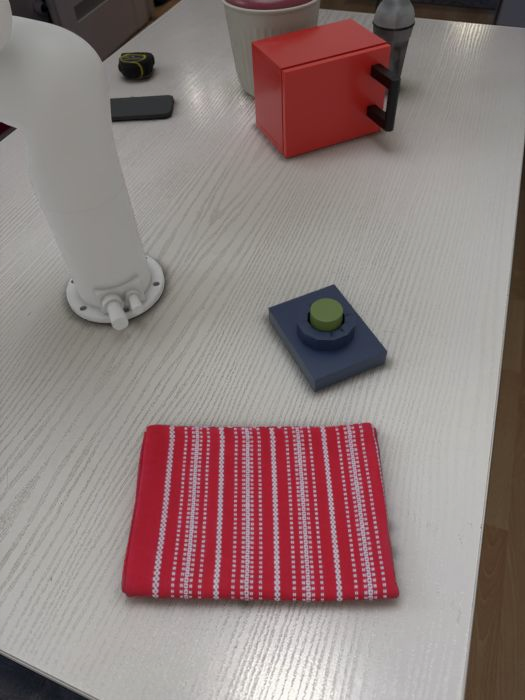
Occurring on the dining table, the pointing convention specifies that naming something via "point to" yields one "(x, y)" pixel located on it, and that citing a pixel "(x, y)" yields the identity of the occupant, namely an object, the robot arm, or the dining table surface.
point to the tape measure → (136, 64)
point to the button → (326, 315)
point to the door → (338, 100)
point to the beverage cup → (395, 29)
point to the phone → (141, 107)
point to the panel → (326, 340)
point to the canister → (263, 27)
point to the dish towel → (260, 515)
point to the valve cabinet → (296, 52)
